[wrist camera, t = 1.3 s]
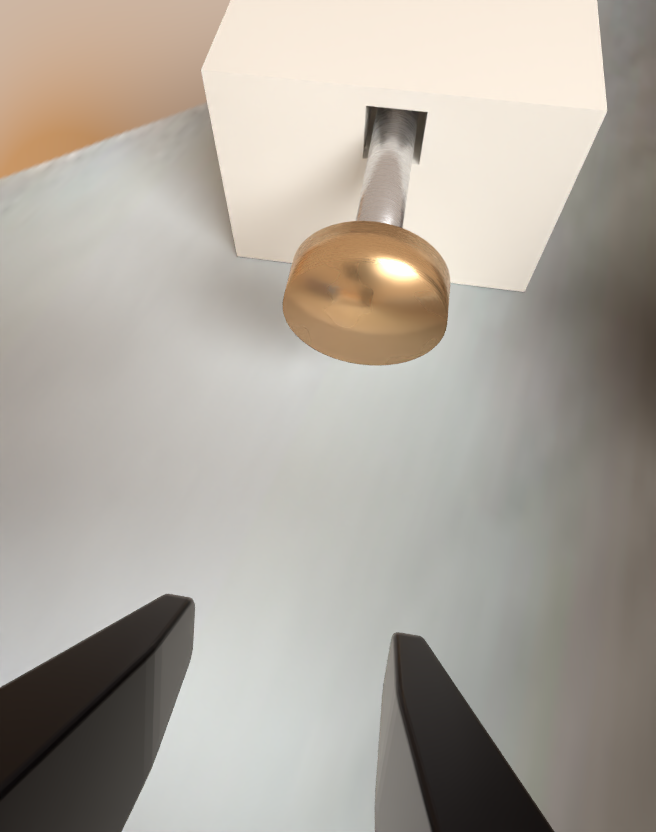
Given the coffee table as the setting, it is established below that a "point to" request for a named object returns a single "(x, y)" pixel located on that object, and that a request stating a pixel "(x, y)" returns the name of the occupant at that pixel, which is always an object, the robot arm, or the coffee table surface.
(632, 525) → the coffee table surface
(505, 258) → the press block
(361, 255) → the plunger
